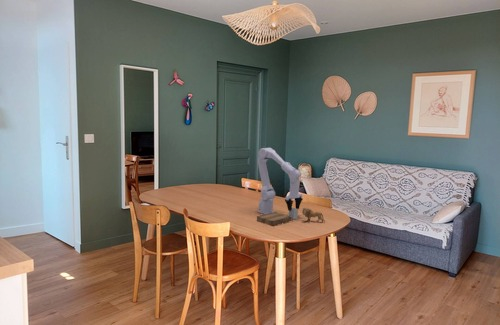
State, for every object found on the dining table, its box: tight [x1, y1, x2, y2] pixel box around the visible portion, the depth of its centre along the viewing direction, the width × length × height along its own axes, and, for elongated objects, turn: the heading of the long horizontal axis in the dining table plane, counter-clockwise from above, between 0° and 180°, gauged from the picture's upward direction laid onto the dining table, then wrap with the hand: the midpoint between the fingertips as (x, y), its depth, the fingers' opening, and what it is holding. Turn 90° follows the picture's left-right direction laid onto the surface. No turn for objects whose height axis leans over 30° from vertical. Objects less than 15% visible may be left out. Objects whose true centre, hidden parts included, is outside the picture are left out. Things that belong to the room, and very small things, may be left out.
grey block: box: [288, 207, 299, 220], centre depth 236 cm, size 4×4×6 cm
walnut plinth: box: [256, 211, 292, 227], centre depth 228 cm, size 14×16×3 cm
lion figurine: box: [301, 207, 326, 224], centre depth 229 cm, size 15×5×9 cm, turn 90°
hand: (293, 209), depth 236 cm, fingers open, 7 cm apart
